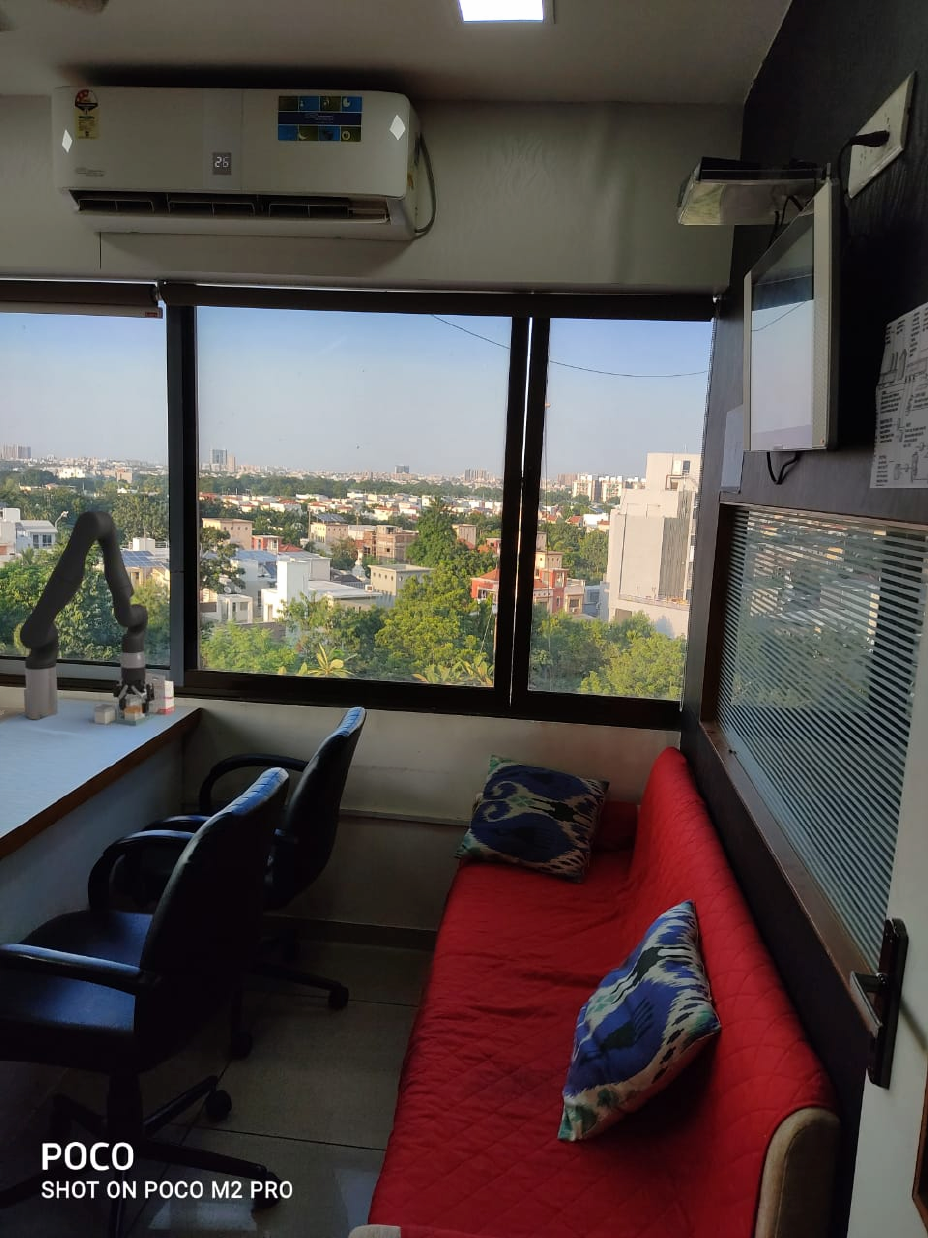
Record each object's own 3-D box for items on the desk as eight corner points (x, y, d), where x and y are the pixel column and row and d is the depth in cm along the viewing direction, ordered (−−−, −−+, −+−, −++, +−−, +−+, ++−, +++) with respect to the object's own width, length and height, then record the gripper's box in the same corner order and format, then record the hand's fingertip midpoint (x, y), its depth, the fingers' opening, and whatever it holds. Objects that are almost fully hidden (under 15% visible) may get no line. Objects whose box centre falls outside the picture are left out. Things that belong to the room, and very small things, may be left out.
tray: (114, 725, 277) (114, 718, 276) (132, 718, 285) (132, 711, 285) (136, 728, 275) (136, 721, 274) (153, 721, 283) (153, 714, 283)
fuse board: (89, 725, 276) (89, 707, 275) (127, 710, 294) (126, 693, 293) (108, 727, 274) (107, 710, 273) (144, 712, 292) (144, 696, 291)
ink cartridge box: (174, 713, 293) (174, 673, 290) (165, 717, 288) (165, 676, 285) (154, 710, 295) (153, 670, 293) (144, 714, 290) (144, 673, 288)
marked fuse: (124, 723, 278) (124, 708, 277) (134, 719, 283) (134, 704, 282) (135, 724, 277) (135, 710, 276) (144, 720, 282) (144, 706, 281)
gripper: (107, 664, 275) (108, 712, 277) (144, 669, 271) (145, 717, 274) (122, 659, 282) (123, 706, 285) (158, 664, 278) (159, 711, 281)
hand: (134, 711), depth 279 cm, fingers open, 8 cm apart
